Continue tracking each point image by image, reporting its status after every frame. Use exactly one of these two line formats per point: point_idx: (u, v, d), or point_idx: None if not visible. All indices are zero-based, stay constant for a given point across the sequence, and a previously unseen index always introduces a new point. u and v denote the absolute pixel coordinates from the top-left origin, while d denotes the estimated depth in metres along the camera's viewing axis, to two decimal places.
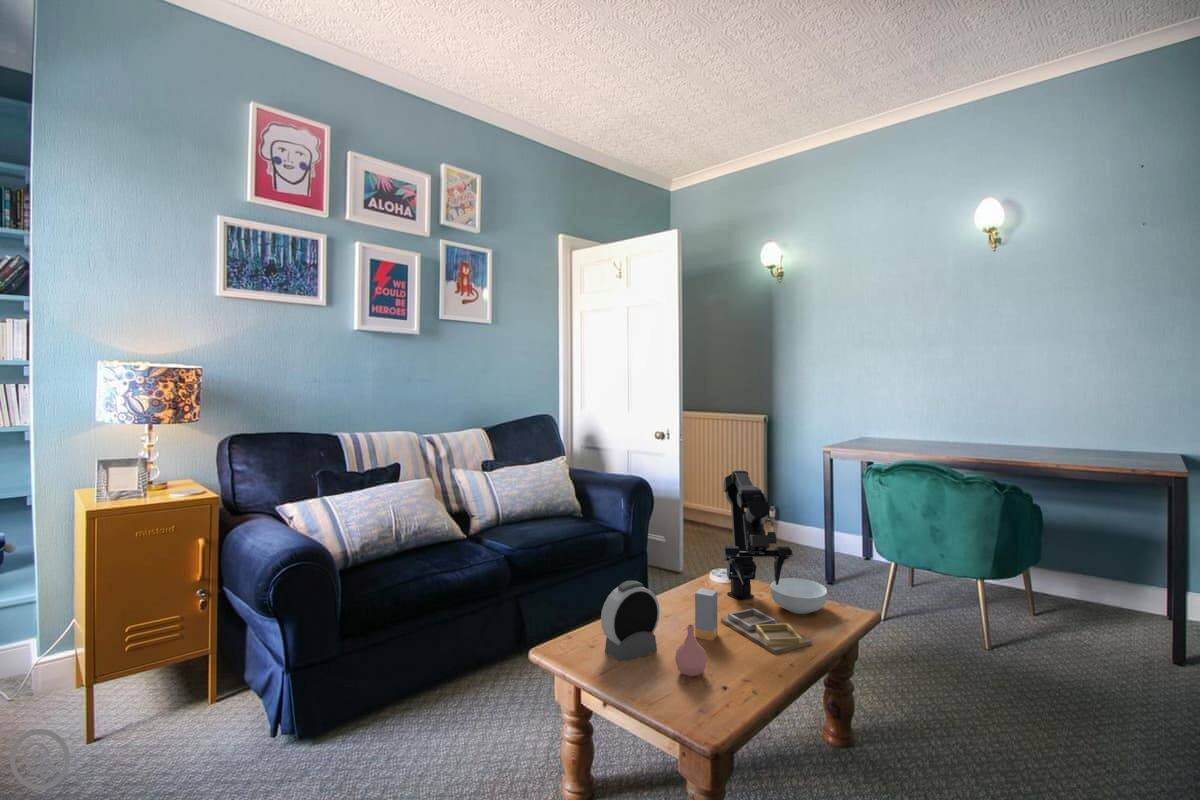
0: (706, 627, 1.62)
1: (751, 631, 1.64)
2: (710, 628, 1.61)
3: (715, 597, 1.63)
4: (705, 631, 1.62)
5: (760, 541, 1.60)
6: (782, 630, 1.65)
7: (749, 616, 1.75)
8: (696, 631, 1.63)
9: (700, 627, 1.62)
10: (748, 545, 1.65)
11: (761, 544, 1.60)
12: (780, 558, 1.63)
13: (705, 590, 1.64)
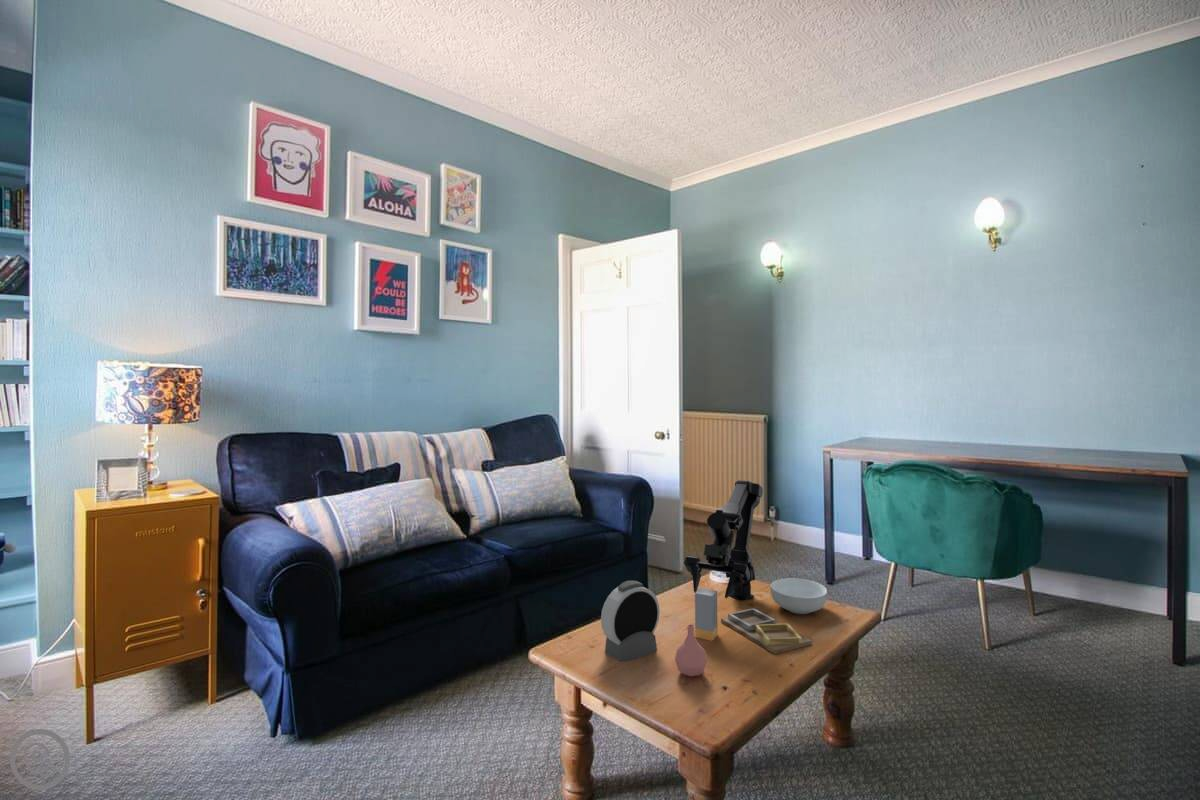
0: (706, 627, 1.62)
1: (751, 631, 1.64)
2: (710, 628, 1.61)
3: (715, 597, 1.63)
4: (705, 631, 1.62)
5: (710, 550, 1.67)
6: (782, 630, 1.65)
7: (749, 616, 1.75)
8: (696, 631, 1.63)
9: (700, 627, 1.62)
10: (706, 556, 1.72)
11: (710, 553, 1.67)
12: (732, 572, 1.66)
13: (705, 590, 1.64)
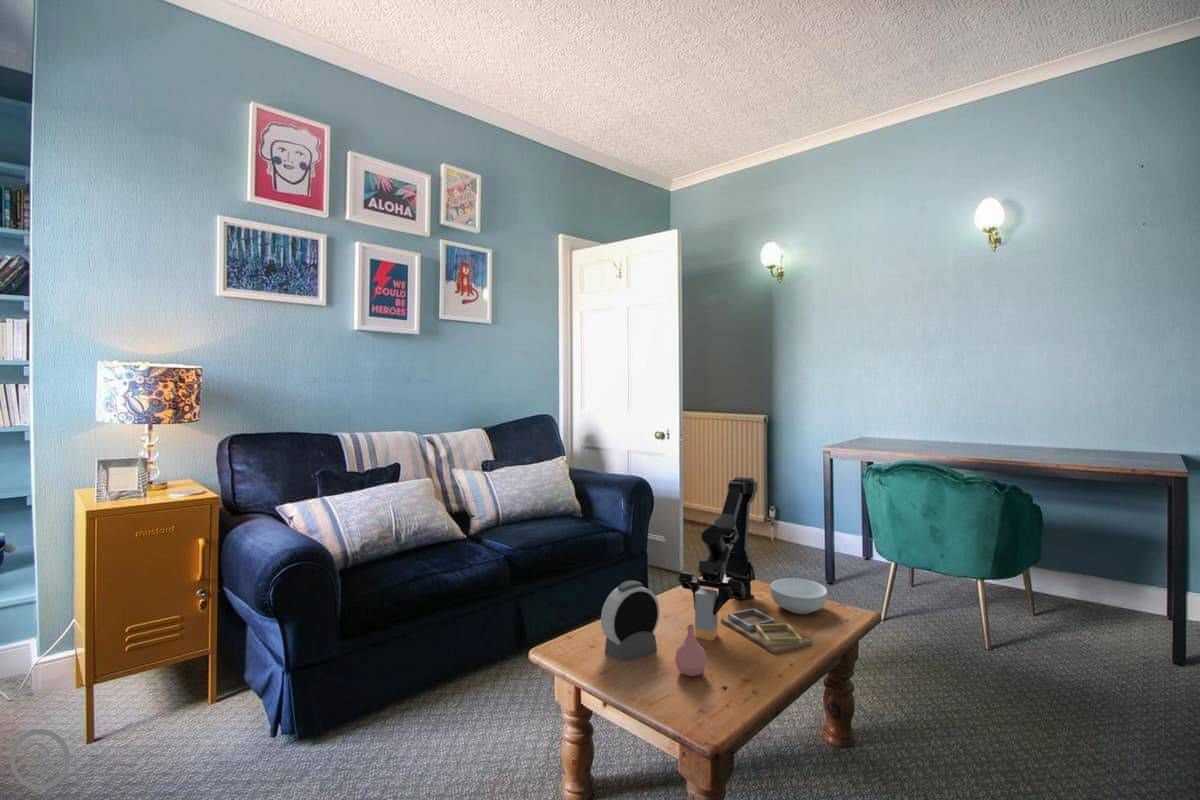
0: (706, 627, 1.62)
1: (751, 631, 1.64)
2: (710, 628, 1.61)
3: (715, 597, 1.63)
4: (705, 631, 1.62)
5: (704, 566, 1.63)
6: (782, 630, 1.65)
7: (749, 616, 1.75)
8: (696, 631, 1.63)
9: (700, 627, 1.62)
10: (701, 573, 1.68)
11: (705, 569, 1.63)
12: (721, 588, 1.63)
13: (705, 590, 1.64)
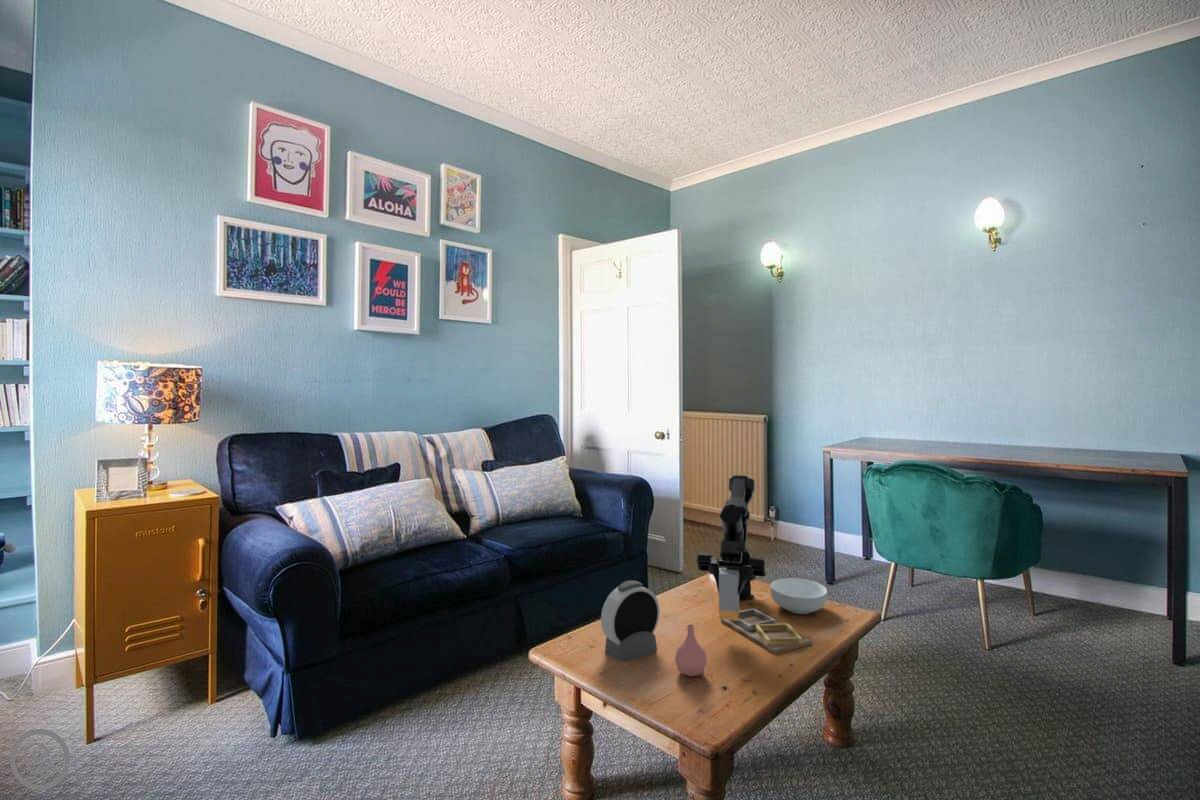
0: (731, 607, 1.59)
1: (751, 631, 1.64)
2: (735, 608, 1.59)
3: (738, 577, 1.61)
4: (730, 611, 1.59)
5: (728, 546, 1.61)
6: (782, 630, 1.65)
7: (749, 616, 1.75)
8: (720, 612, 1.60)
9: (724, 608, 1.60)
10: (720, 553, 1.65)
11: (728, 549, 1.60)
12: (743, 567, 1.61)
13: (727, 571, 1.62)
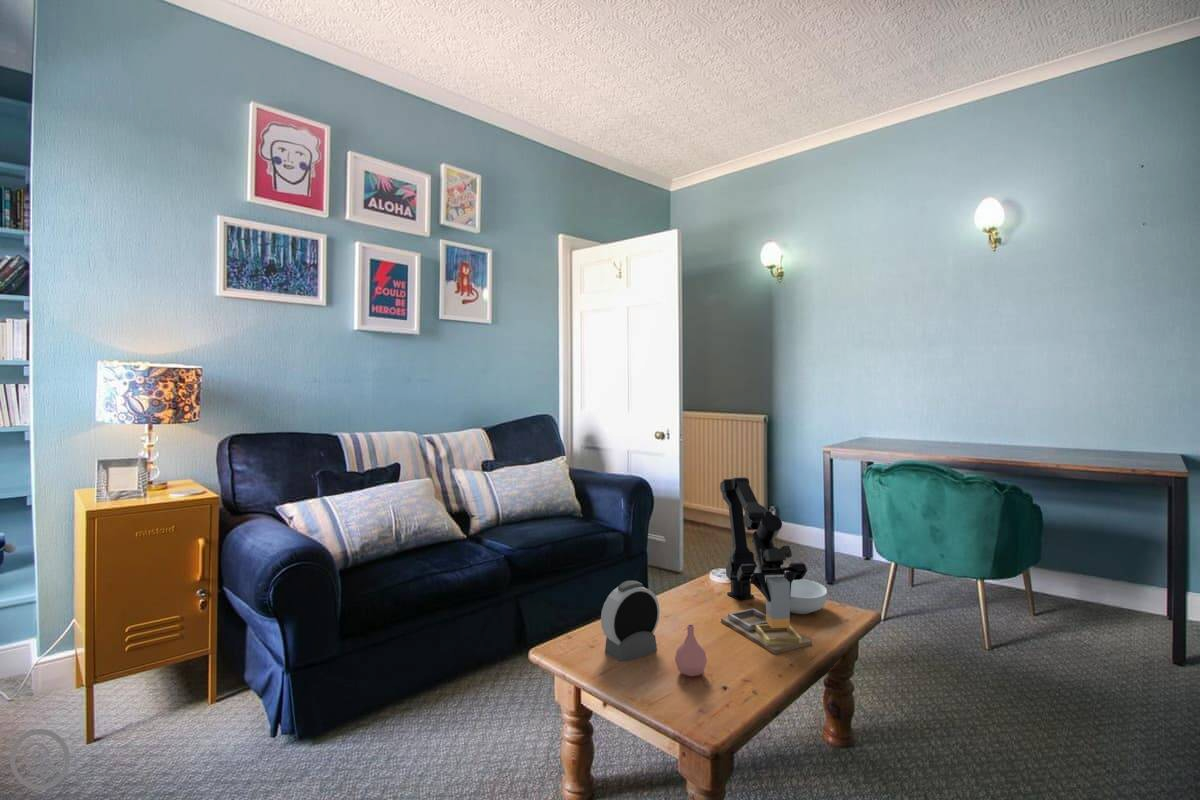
0: (783, 615, 1.59)
1: (751, 631, 1.64)
2: (787, 615, 1.59)
3: None
4: (782, 619, 1.59)
5: (777, 554, 1.60)
6: (782, 630, 1.65)
7: (749, 616, 1.75)
8: (773, 622, 1.58)
9: (777, 617, 1.58)
10: (763, 562, 1.63)
11: (778, 557, 1.60)
12: (789, 573, 1.62)
13: (775, 578, 1.61)
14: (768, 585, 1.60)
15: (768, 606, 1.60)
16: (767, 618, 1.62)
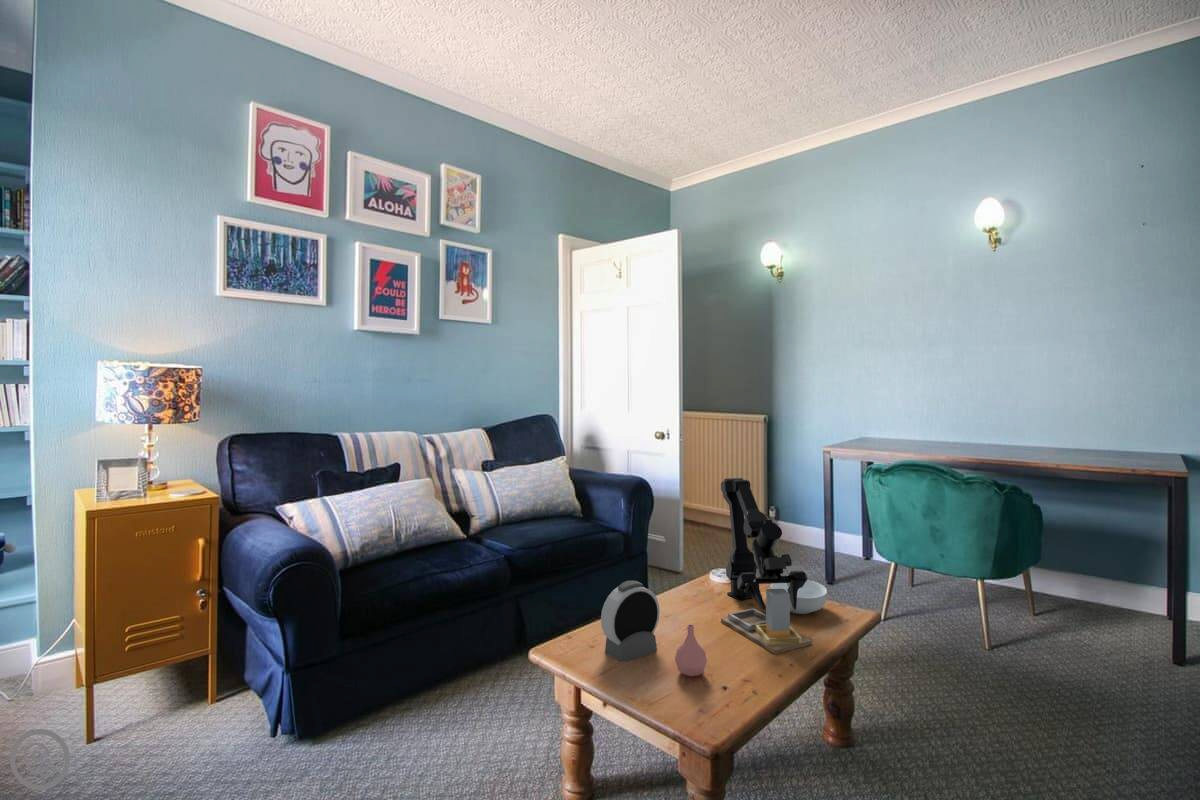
0: (783, 627, 1.59)
1: (751, 631, 1.64)
2: (787, 627, 1.59)
3: None
4: (782, 632, 1.59)
5: (777, 563, 1.60)
6: None
7: (749, 616, 1.75)
8: (773, 634, 1.58)
9: (777, 629, 1.58)
10: (763, 570, 1.63)
11: (778, 566, 1.60)
12: (795, 581, 1.62)
13: (775, 590, 1.61)
14: (768, 597, 1.61)
15: (768, 618, 1.60)
16: (767, 630, 1.62)
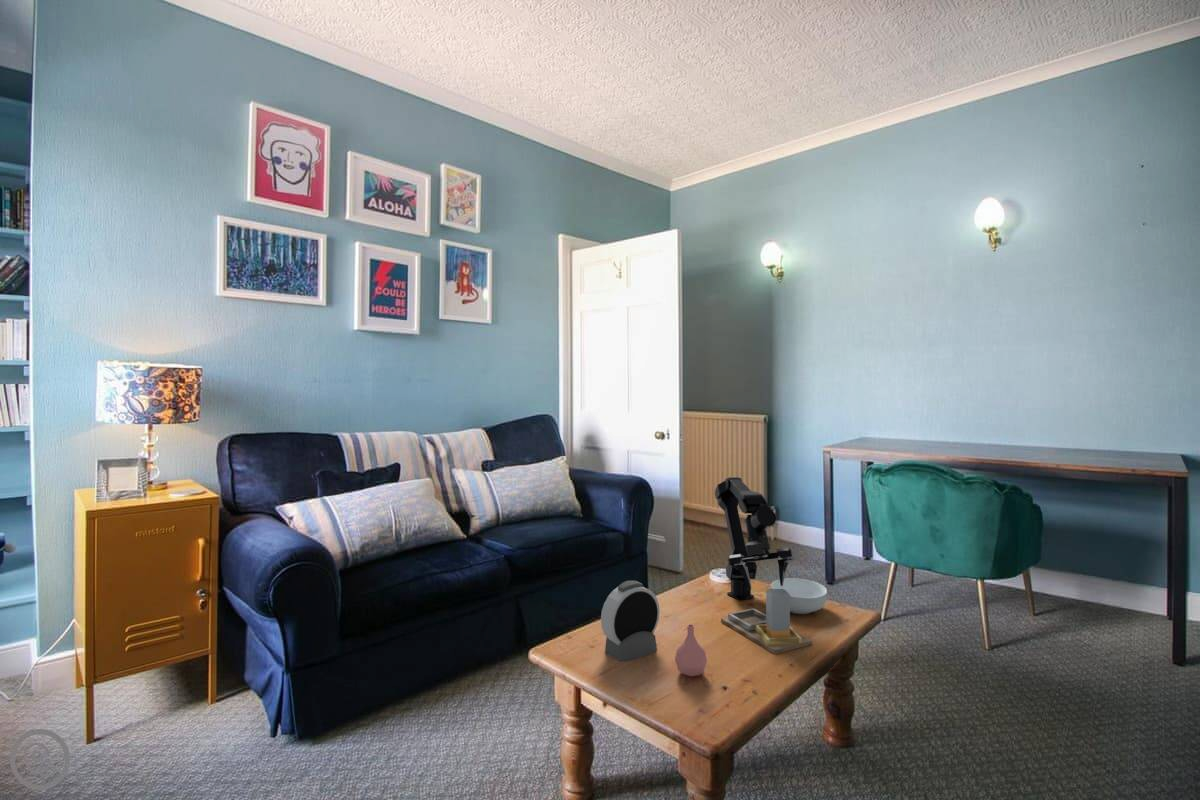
0: (783, 627, 1.59)
1: (751, 631, 1.64)
2: (787, 627, 1.59)
3: None
4: (782, 632, 1.59)
5: (753, 550, 1.69)
6: None
7: (749, 616, 1.75)
8: (773, 634, 1.58)
9: (777, 629, 1.58)
10: None
11: (754, 552, 1.68)
12: (780, 561, 1.69)
13: (775, 590, 1.61)
14: (768, 597, 1.61)
15: (768, 618, 1.60)
16: (767, 630, 1.62)
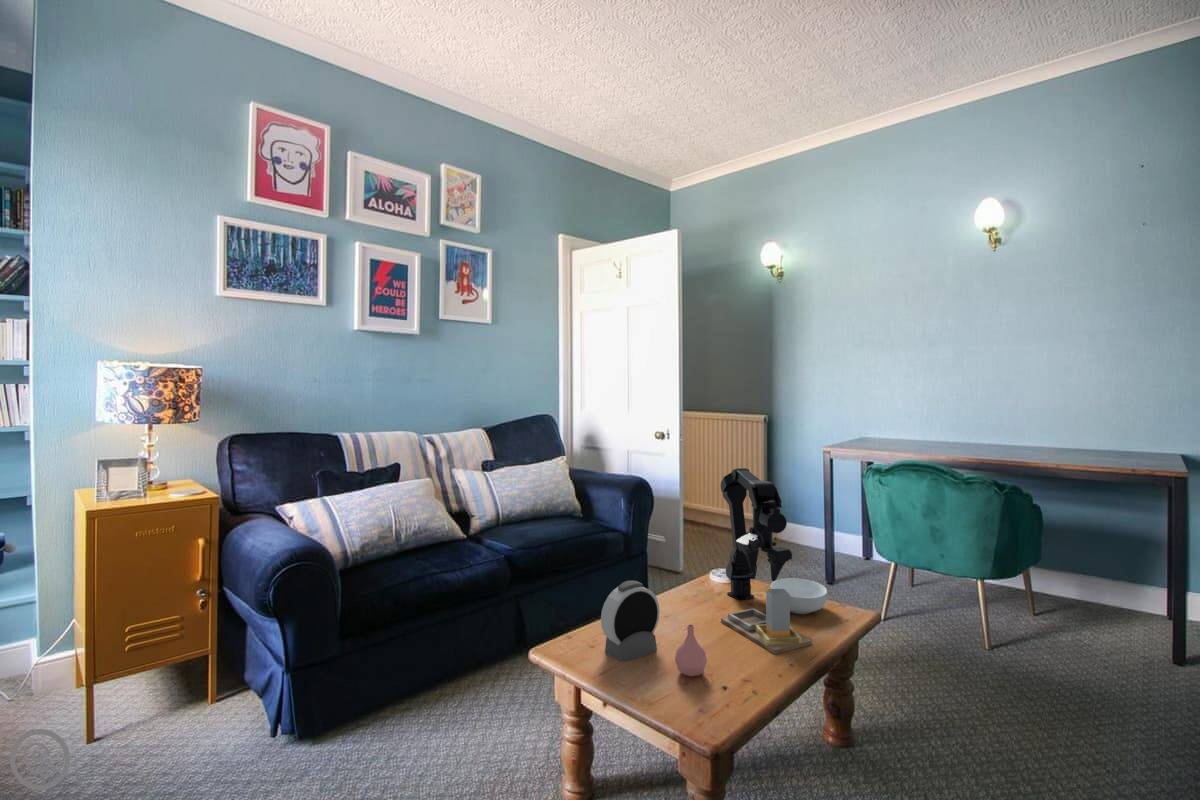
0: (783, 627, 1.59)
1: (751, 631, 1.64)
2: (787, 627, 1.59)
3: None
4: (782, 632, 1.59)
5: (740, 547, 1.71)
6: None
7: (749, 616, 1.75)
8: (773, 634, 1.58)
9: (777, 629, 1.58)
10: None
11: (742, 550, 1.71)
12: (769, 561, 1.68)
13: (775, 590, 1.61)
14: (768, 597, 1.61)
15: (768, 618, 1.60)
16: (767, 630, 1.62)
